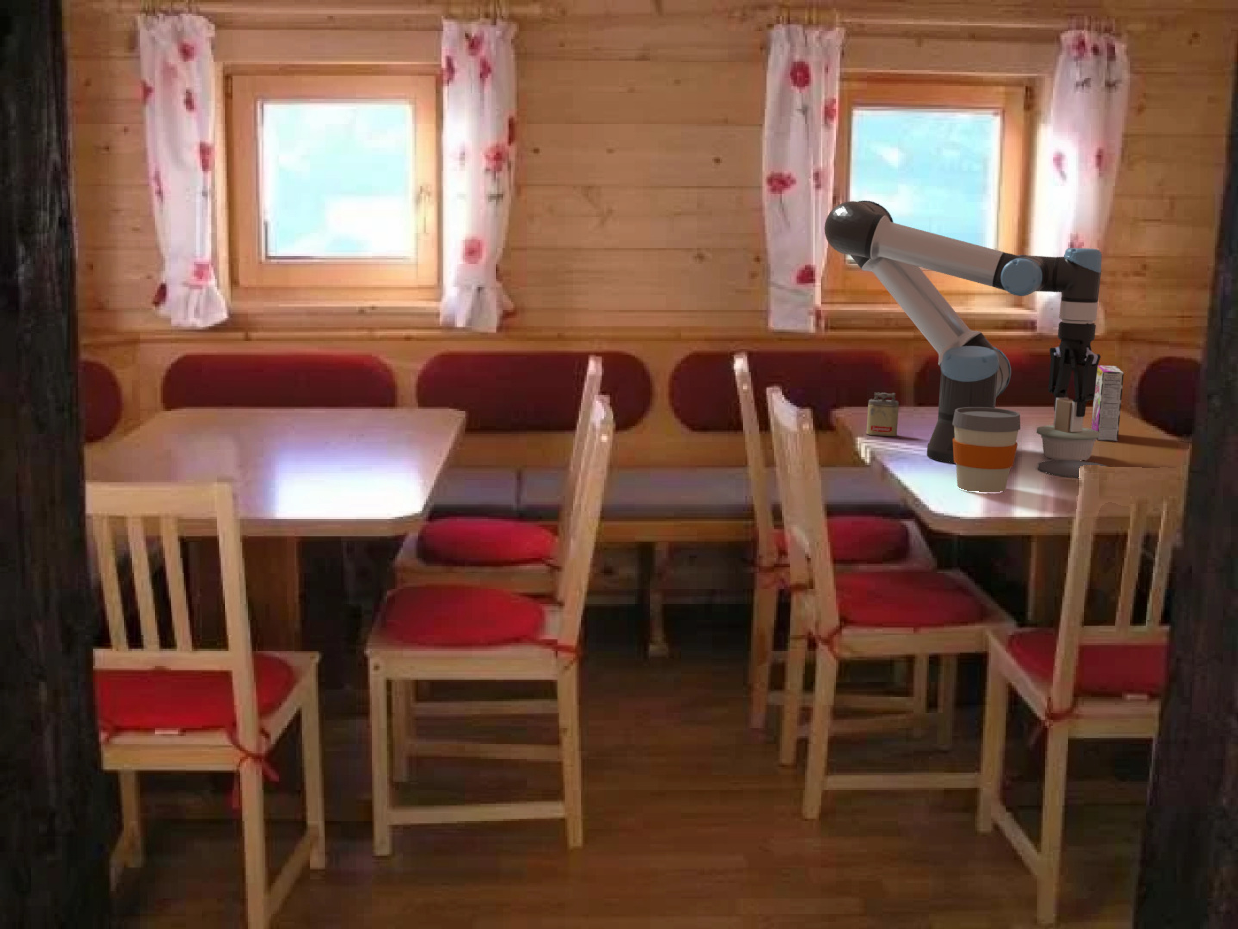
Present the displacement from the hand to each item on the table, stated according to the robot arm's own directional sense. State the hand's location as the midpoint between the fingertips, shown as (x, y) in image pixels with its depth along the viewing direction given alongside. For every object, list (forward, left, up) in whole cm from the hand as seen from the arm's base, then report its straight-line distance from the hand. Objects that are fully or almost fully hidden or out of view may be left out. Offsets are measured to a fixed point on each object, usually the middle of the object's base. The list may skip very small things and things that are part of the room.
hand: (1067, 429), depth 292 cm
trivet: (-8, -13, -6) cm, 16 cm away
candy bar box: (+26, +18, -6) cm, 32 cm away
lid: (0, 0, -1) cm, 1 cm away
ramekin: (0, 0, -7) cm, 7 cm away
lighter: (-25, +34, -6) cm, 43 cm away
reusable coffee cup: (-38, -22, -6) cm, 44 cm away
